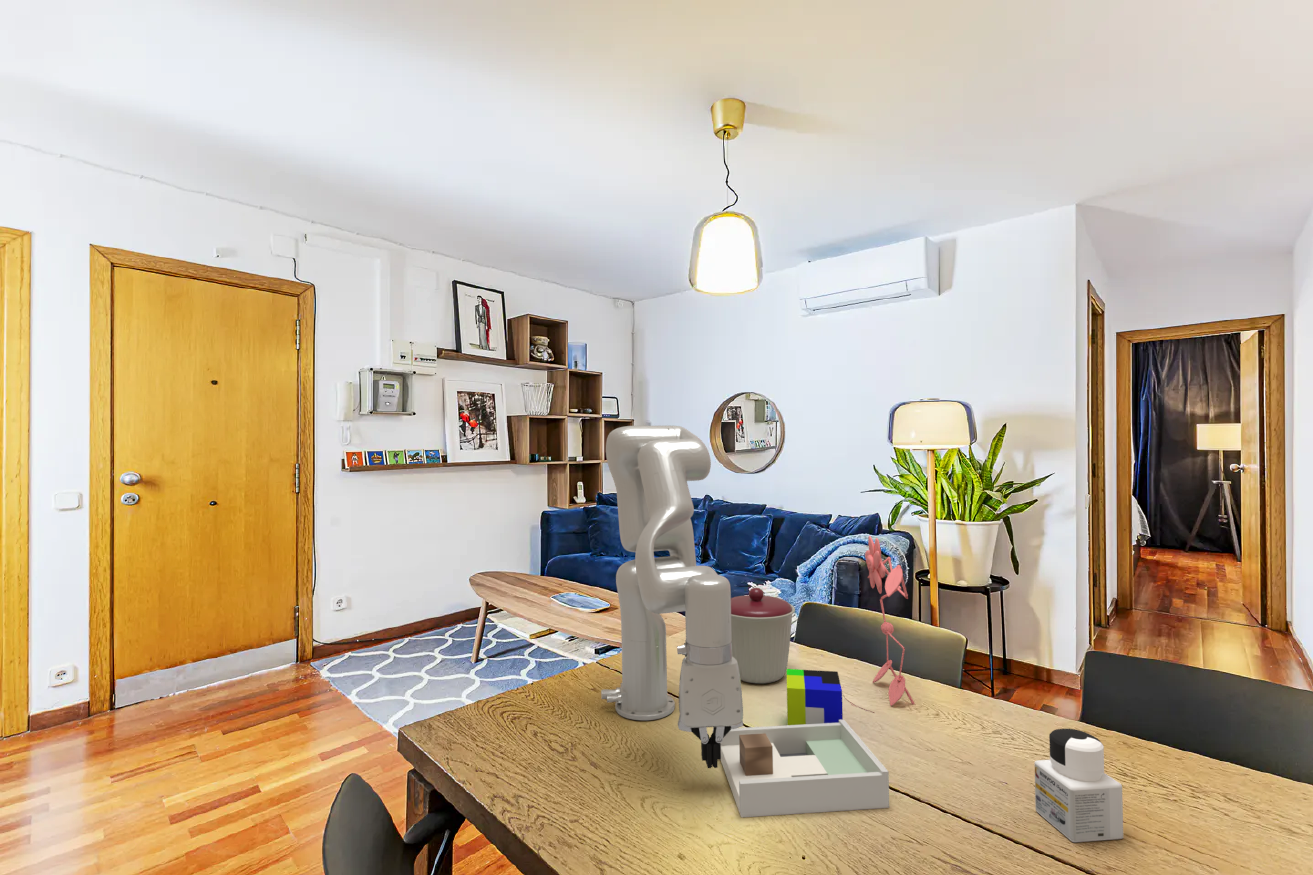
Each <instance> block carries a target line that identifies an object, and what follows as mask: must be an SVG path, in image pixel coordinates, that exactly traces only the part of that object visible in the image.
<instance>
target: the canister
mask: <svg viewBox="0 0 1313 875" xmlns="http://www.w3.org/2000/svg"><path fill="white" fill-rule="evenodd" d="M764 594H765V592H764V590H763V589H762V588H760V587H752V588H750V589H749V591H748V595H738V596H734V597H731V632H732V657H734V658H735V659H736V660H737V663H738V668H739V673H740V681H741V682H742V681H743V682H745V683H750V684H758V685H759V684H771V683H774V682H777V681H780V680H781V679H782V678H783V677H784V676H785V674H786V673H787V669H788V664H789V663H788V662H789V653H790V646H791V645H790V644H791V633H792V625H793V624H792V623H793V622H792V621H793V615H794V614H795V612H796V608H795V606H794V605H793V604H791V603H789V602H788V601H786V600H785V599H782V598H780V597H777V596H776V597H775V596H770V595H764Z"/></svg>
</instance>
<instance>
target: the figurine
mask: <svg viewBox="0 0 1313 875" xmlns="http://www.w3.org/2000/svg"><path fill="white" fill-rule="evenodd" d="M867 542H868V550H866V551H865V553H864V556H865V557H864V558H865V563H866V566H867V570H868V576H867V579H869V583H870V587H871V588H872V589H874V588H875V585H876V588H877V592H878V593H879V595H881V594H882V592H883V590H882V589H883V588H882V587H883V582H882V579H884V578H885V575H887V577H886V578H885V583H884V589H885V593H886V594H883V595H882V596H881V597H880V599H879V601H880V602H879V603H880V609H881V614H882V618H883V623H882V624H881V626H880V631H881V633H883V635H886V638H885V639H886V641H885V642H886V662H885V663H884V664H883V665H882V666H881V667H880V669H879V670H878V672H877V674H875V677H873V680H872V683H873V684H874V683H877V682H878V681H880V680H881V679H882V678H883V677H884V676H885V675H886V674H887V673H888V671H889V669H890V671H891V673H892V674H890V676H891V677H892V676H894V678H893V679H892V681H891V682H890V684H889V687H888V697H889V698H888V700H889V704H890V706H891V707H892V706H894V705H895V704H896V703H897V702H898V701H899V700H900V699H902V697H903V695H904V693H905V695H906V696H907V697H908V700H909V701H910V703H911V704H912V705H915V701H914V700H913V698H912V696H911V694H910V692H909V691H908V689H907V687H906V678H905V677H904V675H903V674H902V668H903V662H904V656H905V650H906V648H905V647H904V646H903V645H902V644H901V643H900V641H899V640H897V639H896V638H895V637H894V636H893V635H892V634H893V633H894V630H895V628H894V625H893V623H891V622H888V621H886V616H885V615H886V614H885V608H884V603H883V601H884V599H886V598H887V597H888V598H890V597H891V596H892V595H894V593H895V592H899V594H901V595H902V596H903V597H904V598H905V599H907V600H908V599H909V594H908V592H907V586H906V583H905V580H904V573H903V569H902V566H901V565H900V564H896V566H895V567H894V568H893V564H892V561H891V560H892V558H891V557H890V556H888V557H887V558H886V559H884V560H883V559H882V550H881V543H880V540H879V538H878V537H876V538H875V540H874V541H873V538H872V536H871V535H868V541H867ZM886 563H888V565H889V569H890V572H889V570H888V569H887V568H886V566H885V564H886ZM900 585H902V587H901V586H900ZM902 589H903V590H902ZM889 637H890V638H892V639H893V640H894V642H896V643H897V644H898V645H899V646H900V648H901V649H902V651H901V652H902V653H901V658H900V659H901V660H900V666H899V672H898V675H897V674H896V672H895V670H894V668H893V667H892V664H893V660H892V659H889ZM844 686H845V685H843V686H841V689H844ZM842 697H844V699H846V700H847V698H846V697H845V695H844V693H843V692H842ZM848 702H849V703H850V704H851V705H850V706H853V707H856V708H859V709H861V710H864V711H865V712H866V711H867V712H871V713H874V714H875V711H871V710H869V709H865V708H864V707H861V706H858V705H857V704H855V703H852V702H850V701H849V700H848Z"/></svg>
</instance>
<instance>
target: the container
mask: <svg viewBox="0 0 1313 875" xmlns="http://www.w3.org/2000/svg"><path fill="white" fill-rule="evenodd" d="M1048 738H1049V759H1040V760H1035V761H1034V794H1035V795H1034V799H1035V800H1034V802H1035V804H1034V805H1035V812H1037V813H1038V814H1039V815H1040V816H1041V817H1042V818H1044V819H1045V821H1047V822H1048V823H1049V824H1051V825H1052V826H1053V827H1055V829H1057V830H1058V831H1059V833H1061V834H1062V835H1063V836H1065V837H1066V838H1067V839H1068V840H1069V841H1071V842H1072V843H1084V842H1085V843H1086V842H1098V841H1099V842H1100V841H1111V840H1121V839H1124V819H1123V818H1124V811H1123V810H1124V809H1123V806H1124V805H1123V803H1124V802H1123V786H1122V783H1121V782H1119V781H1118V780H1116V779H1114V778H1113V777H1111V776H1109V775H1108V774H1107V773H1105V756H1104V754H1105V752H1104V751H1105V750H1104V748H1105V746H1104V744H1103V743H1102V741H1101V740H1100V739H1098V738H1097V737H1096V736H1094V735H1092V734H1090V733H1088V732H1086V731H1082V730H1079V729H1074V728H1057V729H1054V730H1052V731H1051V732H1050V733H1049V737H1048Z"/></svg>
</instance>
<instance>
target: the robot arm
mask: <svg viewBox="0 0 1313 875" xmlns="http://www.w3.org/2000/svg"><path fill="white" fill-rule="evenodd" d="M605 458H606V462H607V465H608V466H607V467H608V468H609V472H610V475H611V477H612V480H613V483H614V487H615V492H616V499H617V500H616V501H617V513H618V514H617V515H618V526H619V527H618V528H619V529H618V530H619V537H620V542H621V545H622V547H623V549H624V550H625V551H627V552H631V553H635V557H634V559H631V560H628V561H626V562H624V563H623V564H621V565H620V566H619V567H618V569H617V571H616V574H615V584H616V590H617V596H618V601H619V608H620V610H619V611H620V625H621V626H620V627H621V628H620V631H621V635H620V636H621V674H622V676H621V677H622V678H621V679H622V680H621V681H622V682H621V683H620V687H617V686H616V687H615V689H607V688H606V689H605V688H604V689H601V695H600V696H601V700H606V703H615V712H616V713H617V714H618V715H619V716H621V717H622V718H626V719H628V720H633V721H654V720H659V719H662V718H665V717H667V716H670V714H672V713H673V712H674V710H675V707H676V706H675V705H676V702H675V700H674V699H673V698H672V697H671V696H670V695H668V672H667V671H668V670H667V669H668V668H667V667H668V665H667V664H668V663H667V662H668V661H667V658H668V657H667V627H666V622H665V619H664V618H663V616H662V614H671V613H679V612H685V614H684V616H685V618H684V619H685V640H684V643H683V644H681V645H677V646H676V650H677V655H682V656H684V658H683V659H682V662H681V667H680V674H679V684H678V685H679V687H678V689H679V690H678V710H679V711H678V712H679V715H678V716H679V717H678V720H677V728H678V730H680V731H682V732H687V733H692V734H693V736H695V737H697V738H698V739H699V740H700V744H701V745H700V747H701V750H700V751H701V753H700V756H701V760H702V761H705V763H706V767H707V769H712V768H714V769H718V768H719V766H718V765H719V764H718V761H721V742H722V741H723V738H724V737H725V736H726V734H727V733H728V732H729V731H730V730H731V729H736V728H743V725H744V722H743V720H744V702H743V693H742V692H743V691H742V690H743V689H742V683H741V682H742V680H740V673H739V668H738V663H737V660H736V659H735V658H734V657H732V632H731V598H732V595H731V594H732V592H731V591H732V590H731V589H732V588H731V583H730V581H729V579H728V578H726V577H725V576H723V575H720V574H718V573H717V572H716V571H715V569H713V568H712V567H711V566H709V565H697V561H696V560H697V559H696V549H695V546H696V545H695V537H694V529H693V523H692V519H691V518H692V517H693V515H694V512H695V509H694V508H695V507H694V503H693V500H692V497H691V496H692V495H691V492H690V488H689V485H688V482H692V481H693V482H696V481H697V482H699V481H703V480H705V479H706V478H707V477H708V476H709V474H710V472H711V465H712V463H711V462H712V460H711V456H710V453H709V449H708V448H707V446H706V444H705V443H704V442H703V440H701V439H700V437H699V436H697V435H695V434H694V433H693V432H691V431H690V430H689V429H687V428H685V427H683V426H680V425H627V426H621V427H620V426H619V427H617V428H615V429H613V430H611V431H610V432H609V433H608V435H607V438H606V443H605ZM659 551H660V552H661V551H668V552H669V556H659V557H655V553H654V552H659ZM707 728H712V732H711V734H710V735H709V733H708V729H707Z"/></svg>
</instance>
